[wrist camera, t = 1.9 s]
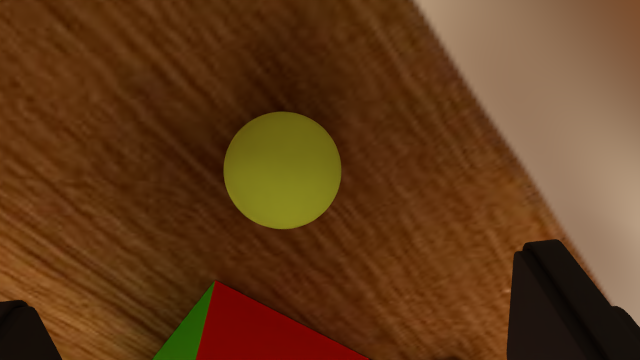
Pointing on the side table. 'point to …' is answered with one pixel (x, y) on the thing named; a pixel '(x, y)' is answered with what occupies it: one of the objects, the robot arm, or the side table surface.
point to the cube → (246, 333)
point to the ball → (282, 170)
